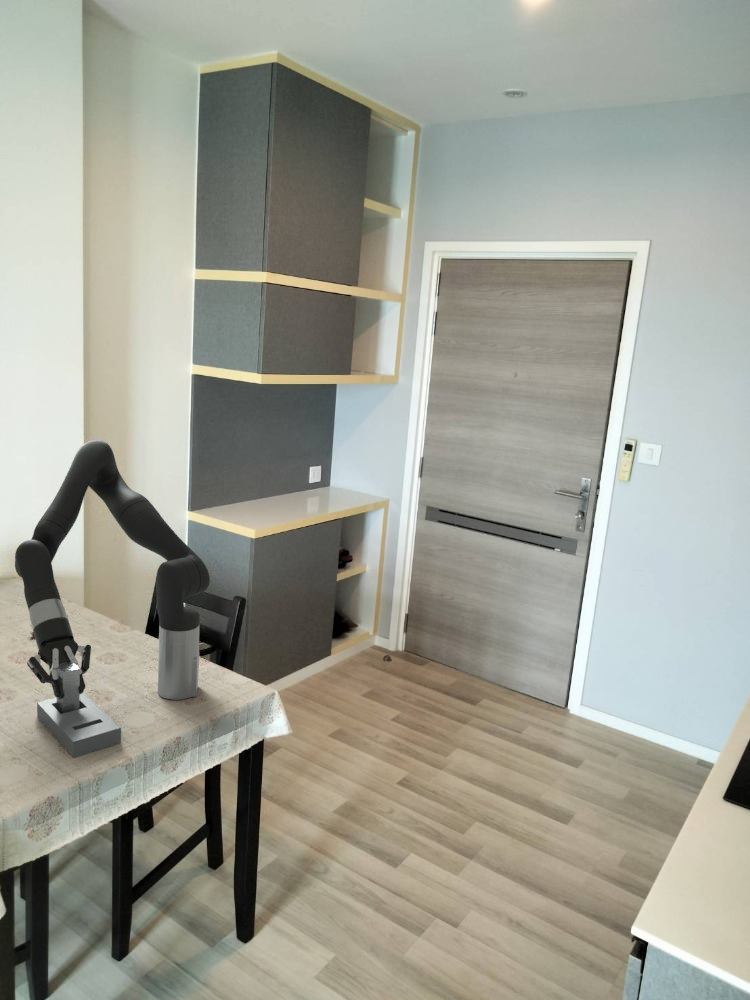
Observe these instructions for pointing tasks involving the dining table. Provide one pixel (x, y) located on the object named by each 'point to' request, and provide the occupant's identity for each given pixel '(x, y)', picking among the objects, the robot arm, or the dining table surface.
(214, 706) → the dining table surface
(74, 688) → the grey square peg
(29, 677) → the dining table surface
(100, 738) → the holder
